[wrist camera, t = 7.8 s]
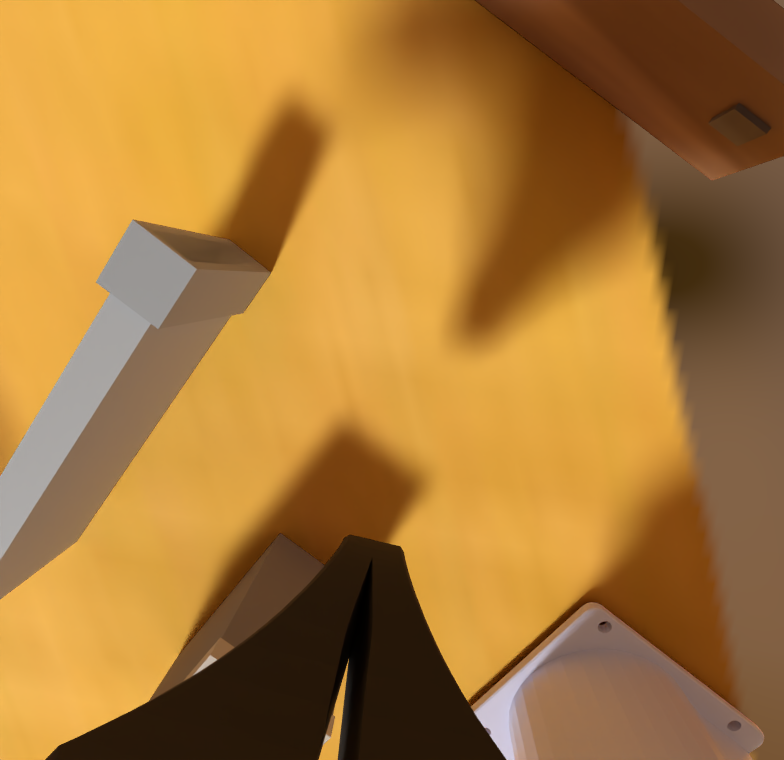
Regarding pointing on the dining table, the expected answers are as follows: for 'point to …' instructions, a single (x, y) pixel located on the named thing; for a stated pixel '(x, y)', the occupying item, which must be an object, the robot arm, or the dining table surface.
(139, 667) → the dining table surface
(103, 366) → the wall
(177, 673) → the block
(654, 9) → the door
